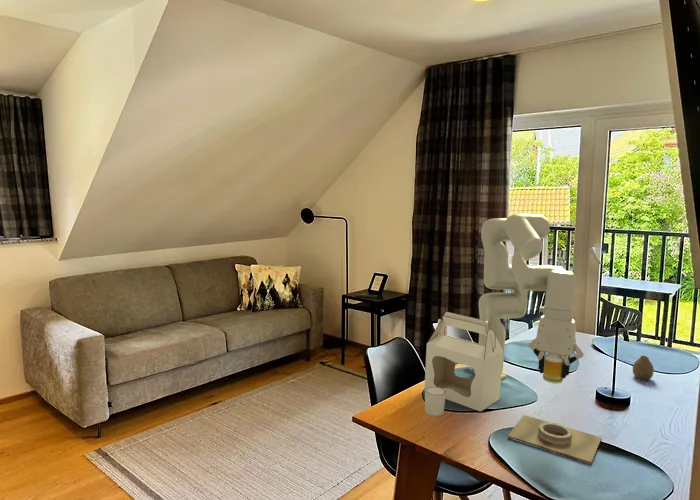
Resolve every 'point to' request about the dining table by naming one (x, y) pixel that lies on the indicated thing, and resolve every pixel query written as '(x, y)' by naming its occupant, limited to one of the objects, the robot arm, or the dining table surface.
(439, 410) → the white cup
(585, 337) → the dining table surface
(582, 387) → the dining table surface
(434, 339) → the gable box
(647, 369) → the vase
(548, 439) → the socket board
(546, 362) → the supplement bottle
